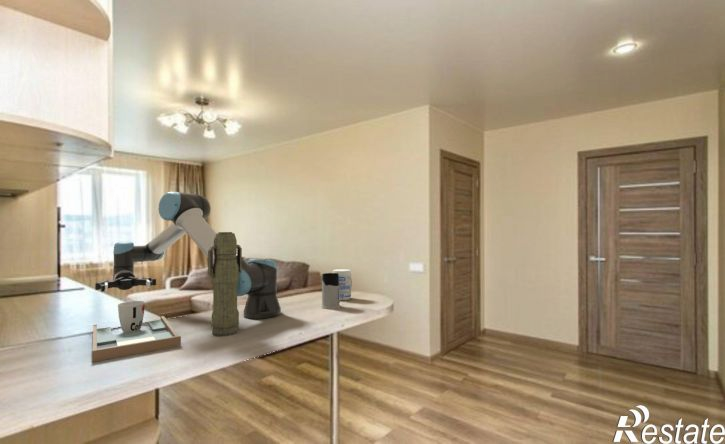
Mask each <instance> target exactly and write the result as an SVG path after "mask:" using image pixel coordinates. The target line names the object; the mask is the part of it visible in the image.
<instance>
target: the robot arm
mask: <svg viewBox="0 0 725 444" xmlns="http://www.w3.org/2000/svg"><path fill="white" fill-rule="evenodd" d="M211 210H212V208H211V204H210V202H209V200H208V199H207V198H206V197H205V196H204V195H201V194H197V193H186V192H179V191H168V192H166V193H164V194H163V195H162V196H161V198H160V199H159V202H158V214H159V216H160V218H161V219H162V220H164V221H166V222H170V221H171V224H169V225H167V227H166V228H164V230H162V231H161V232H160V233H159V234H157V235H156V236H155V237H154V238H153V239H152V240H150V241H149V242H148V243H147V244H145V245H135V244H134V242H133V241H131V242H130V241H129V242H128V241H125V242H124V241H123V242H120V241H119V242H116V243H114V246H113V272H112V273H113V274H112V281H111V280H110V279H105V280H103V281H100V282H95V288H94V289H95V291H98V290H100V291H101V293H102V292H105V293H109V292H108V289H112V288H115V289H119V290H120V291H121V290H122V291H128V290H130V289H132V288H133V287H138V286H145V287H146V289H151V286H156V285H157V278H152V277H144V276H142V277H140V278H138V277H136V276H135V274H134V269H135V268H134V267H135V265H134V264H135V263H140V262H143V263H144V262H155V261H159V260H161V259H163V257H164V255H165V251H167V250H168V249H169V248H170V247H172V246H173V245H174V244H175V243H176V242H177V241H179V240H180V239H181V238H182V237H184V236H185V235H186V234H187V235H188V236H189V237H190V239H191V240H192V241H193V242H194V243H195V245H196V246H197V247H198V249H199V250H200V251H201V252H202V253H203V255H204V256H205V257H206V258H207V259H208V250H209V248H210V247H212V246H213V245H214V238H215V236H216V234H217V233H218V232H216V231H215V230H214V228H212V226H211V225H210V224H209V223H208V222H207V221H206V220H207V219H208V218H209V216H210V214H211ZM236 258H237V254H236ZM213 263H214V250H213ZM277 271H278V268H277V262H276V261H275V260H272V259H254V258H253V259H252V258H250V259H248V260H247V262H246V260H245V259H244V258H243V257H242V271H241V273H240V274H239V281H238V283H237V298H239V297H242V296H245V295H247V299H246V302H245V306H244V309H243V317H244V318H247V319H252V320H253V319H254V320H255V319H256V320H257V319H259V320H261V319H268V318H269V319H270V318H274V317H278V316H280V315H281V313H282V307H281V306H280V301H279V299H278V296H277V295H278V293H277V292H278V291H277V281H278V280H277Z"/></svg>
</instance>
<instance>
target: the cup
mask: <svg viewBox="0 0 725 444" xmlns="http://www.w3.org/2000/svg"><path fill="white" fill-rule="evenodd" d="M145 304H146V301H144V300H133V301H132V300H131V301H126V302H125V301H124V302H120V303H118V304H117V311H118V312H117V313H118V319H119V324H120V328H121V330H122V334H125V333H131V332H138V331H141V328H142V325H143V321H144V318H145V317H144V315H145Z"/></svg>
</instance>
